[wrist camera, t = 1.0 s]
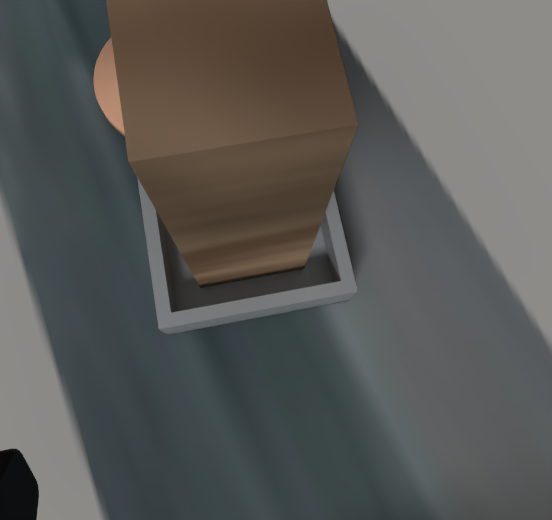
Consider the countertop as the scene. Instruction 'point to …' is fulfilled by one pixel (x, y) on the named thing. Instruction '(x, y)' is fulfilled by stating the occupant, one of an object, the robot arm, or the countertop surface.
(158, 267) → the gray tray
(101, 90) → the brown curved piece
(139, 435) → the countertop surface
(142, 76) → the walnut box
